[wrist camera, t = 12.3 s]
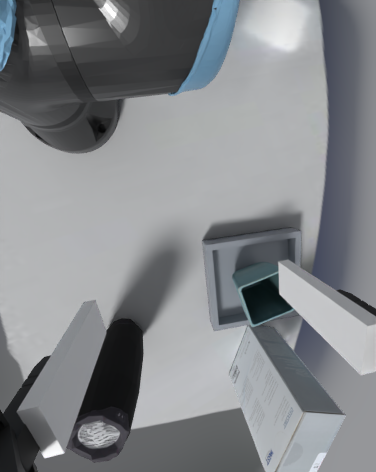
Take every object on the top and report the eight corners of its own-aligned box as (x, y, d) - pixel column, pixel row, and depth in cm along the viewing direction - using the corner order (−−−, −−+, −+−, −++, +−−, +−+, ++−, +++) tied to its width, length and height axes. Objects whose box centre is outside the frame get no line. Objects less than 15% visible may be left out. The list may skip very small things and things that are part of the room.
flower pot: (222, 267, 42) (237, 288, 34) (260, 251, 43) (285, 268, 34) (234, 301, 45) (252, 328, 36) (271, 285, 45) (296, 309, 36)
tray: (202, 240, 41) (205, 245, 38) (290, 227, 43) (301, 230, 40) (210, 320, 46) (213, 331, 43) (289, 306, 48) (298, 315, 45)
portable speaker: (95, 335, 44) (43, 447, 25) (126, 308, 43) (98, 403, 24) (123, 357, 46) (95, 476, 27) (154, 332, 45) (147, 436, 26)
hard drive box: (255, 377, 52) (308, 488, 33) (228, 374, 51) (267, 488, 32) (276, 326, 49) (348, 417, 30) (247, 322, 48) (304, 413, 29)
